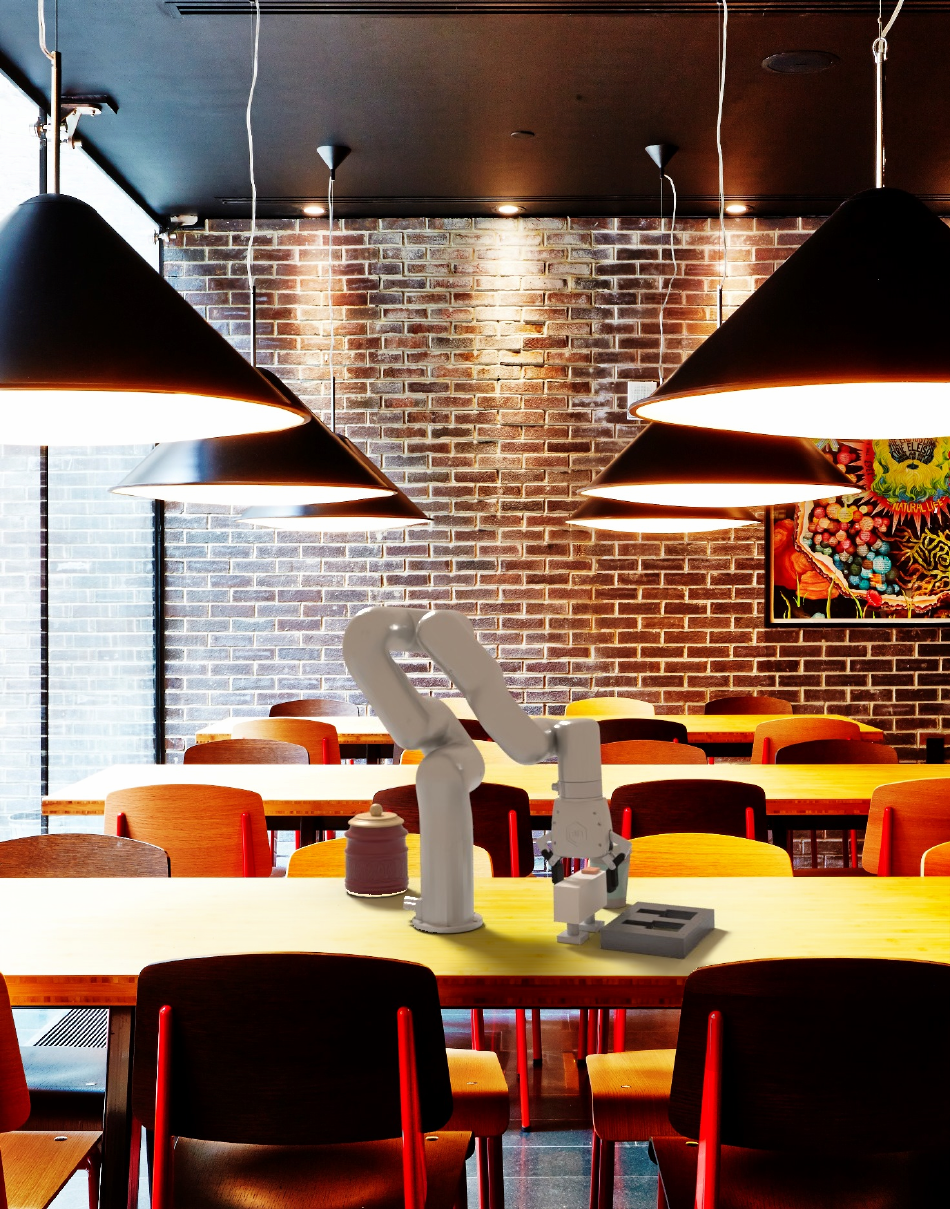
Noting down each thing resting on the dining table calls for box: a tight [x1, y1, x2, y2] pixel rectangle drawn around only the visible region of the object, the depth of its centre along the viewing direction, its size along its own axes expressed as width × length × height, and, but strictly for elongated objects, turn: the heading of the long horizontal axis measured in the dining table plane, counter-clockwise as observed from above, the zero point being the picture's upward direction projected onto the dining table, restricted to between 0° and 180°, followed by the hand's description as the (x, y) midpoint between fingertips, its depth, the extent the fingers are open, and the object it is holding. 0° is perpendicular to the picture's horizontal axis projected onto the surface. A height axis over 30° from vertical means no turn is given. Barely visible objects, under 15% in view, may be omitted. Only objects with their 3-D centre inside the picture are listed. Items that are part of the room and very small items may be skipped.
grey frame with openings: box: [599, 901, 716, 960], centre depth 189 cm, size 14×20×3 cm
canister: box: [343, 803, 410, 895], centre depth 225 cm, size 13×13×18 cm
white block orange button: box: [552, 866, 607, 945], centre depth 192 cm, size 4×14×10 cm, turn 154°
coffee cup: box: [589, 842, 633, 909], centre depth 212 cm, size 8×9×12 cm
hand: (585, 889), depth 192 cm, fingers open, 9 cm apart
